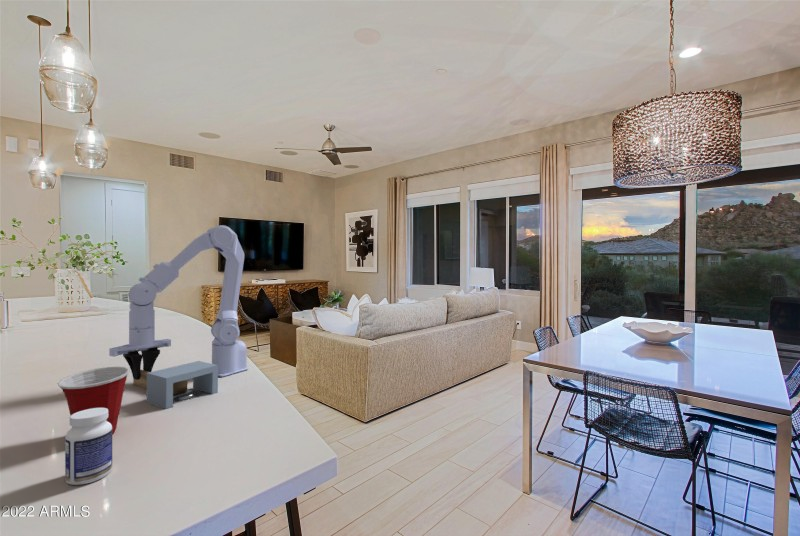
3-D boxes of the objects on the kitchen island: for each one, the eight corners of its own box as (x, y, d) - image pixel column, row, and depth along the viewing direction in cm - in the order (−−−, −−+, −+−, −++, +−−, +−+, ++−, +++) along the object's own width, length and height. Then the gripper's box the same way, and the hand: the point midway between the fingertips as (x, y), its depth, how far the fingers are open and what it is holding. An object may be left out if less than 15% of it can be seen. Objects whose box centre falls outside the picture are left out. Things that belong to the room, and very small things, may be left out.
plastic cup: (45, 441, 71) (45, 376, 70) (112, 420, 80) (112, 363, 80) (74, 455, 66) (74, 386, 65) (141, 431, 75) (141, 370, 75)
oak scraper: (148, 380, 107) (148, 368, 107) (187, 391, 98) (187, 378, 98) (126, 386, 102) (126, 373, 102) (165, 398, 93) (165, 384, 93)
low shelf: (198, 387, 102) (198, 360, 102) (217, 392, 98) (217, 365, 98) (146, 402, 90) (146, 372, 90) (166, 408, 87) (166, 378, 86)
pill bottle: (121, 466, 62) (121, 406, 62) (91, 487, 57) (91, 420, 56) (87, 465, 62) (87, 405, 62) (54, 486, 57) (54, 419, 57)
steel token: (187, 393, 98) (187, 389, 98) (199, 397, 95) (199, 392, 95) (167, 399, 93) (167, 394, 93) (179, 403, 91) (179, 398, 91)
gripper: (161, 322, 111) (160, 368, 111) (103, 330, 99) (103, 382, 99) (175, 324, 108) (175, 372, 108) (117, 332, 95) (117, 386, 95)
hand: (141, 377), depth 103 cm, fingers closed on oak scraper, 2 cm apart
